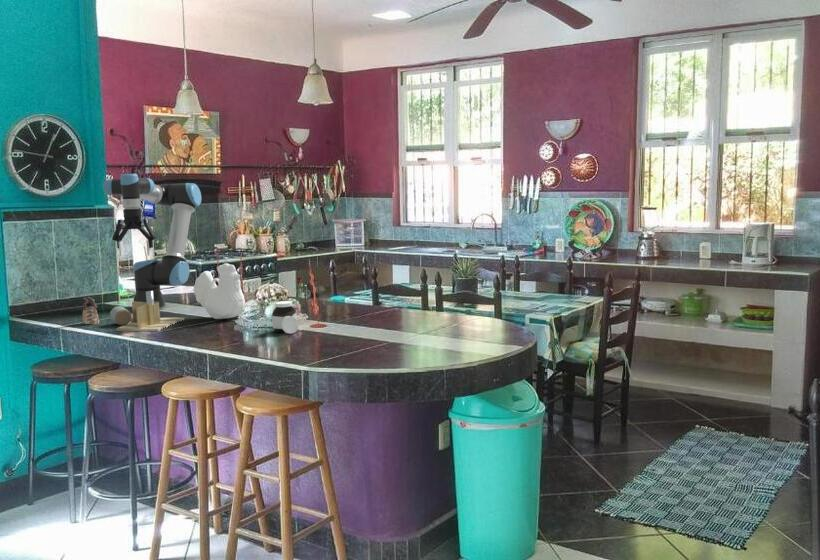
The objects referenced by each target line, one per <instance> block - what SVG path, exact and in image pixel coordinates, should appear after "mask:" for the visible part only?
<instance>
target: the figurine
mask: <svg viewBox="0 0 820 560" xmlns="http://www.w3.org/2000/svg"><path fill="white" fill-rule="evenodd" d="M82 299H83V301H84V302H83V304H82V308H83V310H82V315H81V316H82V317H81V322H82V325H83V324H86V325H85V326H88V325H87V324H94V325H98V324H100V323H101V322H100V321H101V320H100V318H99V315H98V311H97V309H98V306H97V304H96V302H95V299H94V298H92V297H90V296H87V297H83V298H82ZM99 322H100V323H99ZM97 323H98V324H97Z"/></svg>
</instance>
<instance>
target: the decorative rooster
mask: <svg viewBox="0 0 820 560" xmlns="http://www.w3.org/2000/svg"><path fill="white" fill-rule="evenodd" d="M216 269H217V272H218V275H219V277H215V278H214V276H213V275H212V273H211V272H210V270H205V271H203V272H201V273H200V274H199V276H198V277H197V278H196V279H195V283H194V286H193V288H192V289H193V294H194V296H195V299H196V301H197V303H198V304H200V305H201V307H203V308H204V309H205V311H206V312H207V313H208V315H209V316H210V317H212V318H213V319H214V320H223V319H225V320H226V319H233V318H237V317H236V316H238V315H239V314H241V312H242V309H243V306H244V304H245V305H246V300H245V296H244V293H243V291H242V288H241V280H240V278H241V274H239V273H238V271H237V269H236V267H235V265H234V264H230V263H223V264H220V265H219V266H217V268H216ZM216 282H217V283H218V285H217V284H216ZM241 315H242V314H241ZM239 316H240V315H239ZM239 316H238V317H239Z"/></svg>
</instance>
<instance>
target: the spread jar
mask: <svg viewBox="0 0 820 560" xmlns="http://www.w3.org/2000/svg"><path fill="white" fill-rule="evenodd" d="M274 304H275V305H274V306H275V307H274V308H273V311H272V314H271V315H272V316H271V320H272V321H271V322H272V329H273V330H274V331H275V332H277V333H285V334H289V335H290V334H294V333H296V332H297V331H298V330H299V322H298V315H297V309H295V307H294V306H293V301H292V300H291V301H290V300H284V301H283V300H282V301H277V302H275V303H274Z"/></svg>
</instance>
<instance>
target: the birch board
mask: <svg viewBox="0 0 820 560" xmlns="http://www.w3.org/2000/svg"><path fill="white" fill-rule="evenodd" d="M182 320H183V321H185V317H160V323H159V324H155V325H148V326H146V327H143V328H141V329H138V322H129V323H128V324H126V325H121V326H119V327H117V328H115V330H116V332H159V331H161V329H162V330H164V329H166V328H168V326H169V327H171V326H173V325H175V323H176V324H178V323H180V322H182ZM179 321H180V322H179ZM177 322H178V323H177ZM172 324H173V325H172ZM170 325H171V326H170ZM165 327H166V328H165ZM163 328H164V329H163Z"/></svg>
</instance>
